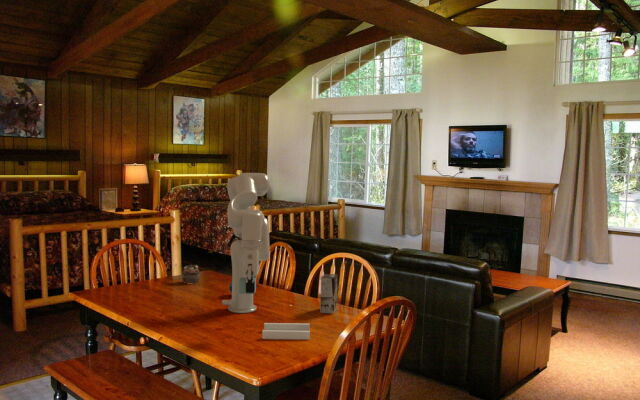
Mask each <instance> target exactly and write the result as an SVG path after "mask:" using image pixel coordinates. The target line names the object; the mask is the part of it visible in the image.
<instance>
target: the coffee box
mask: <svg viewBox="0 0 640 400" xmlns="http://www.w3.org/2000/svg"><path fill="white" fill-rule="evenodd" d="M338 277H339V274H336V273H329V274H328V273H323V275H321V277H320V301H319V303H320V304H319V307H320V308H319V309H320V310H319V313H321V314H333V315H334V313H335V312H336V310H337V309H338Z"/></svg>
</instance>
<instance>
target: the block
mask: <svg viewBox="0 0 640 400" xmlns="http://www.w3.org/2000/svg"><path fill="white" fill-rule="evenodd" d="M246 278H247V277H241V278H240V280H239V294H253V295H255V293H256V291H257V277H256V278H254V282H255V284H254V293H246Z"/></svg>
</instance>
